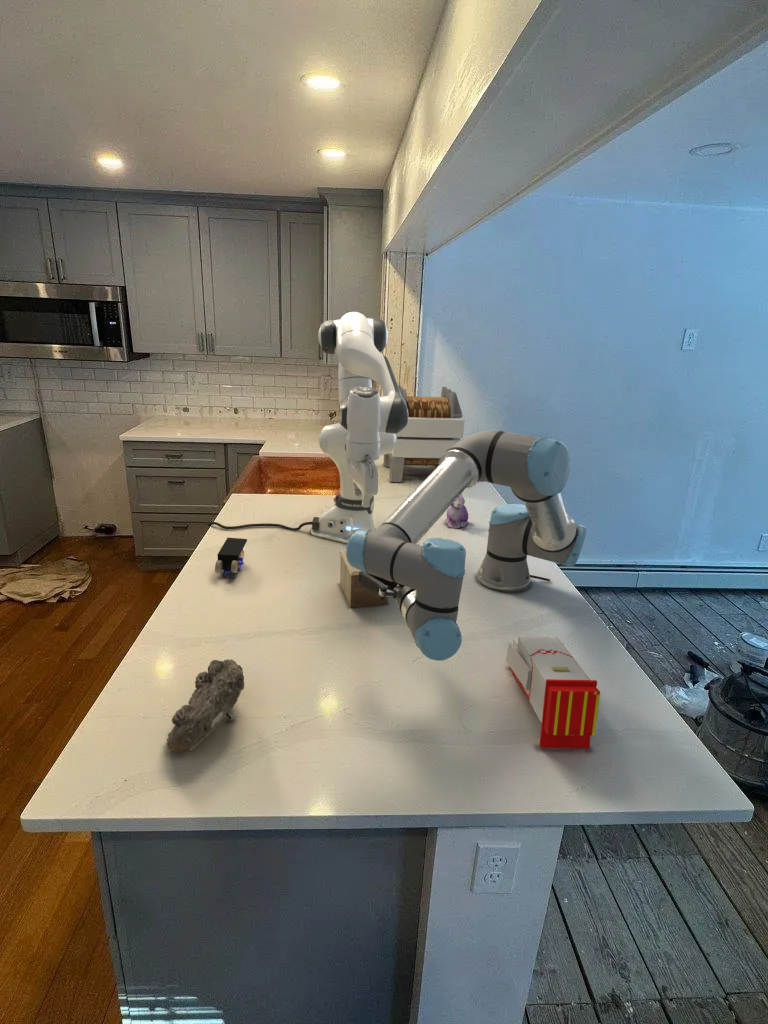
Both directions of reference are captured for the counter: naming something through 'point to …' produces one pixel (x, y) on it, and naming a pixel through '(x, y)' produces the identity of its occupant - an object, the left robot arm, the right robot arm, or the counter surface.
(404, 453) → the grey boxy piece
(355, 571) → the lid
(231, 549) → the figurine character
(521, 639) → the toy
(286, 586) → the counter surface
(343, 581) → the chest
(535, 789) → the counter surface
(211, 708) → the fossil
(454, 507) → the figurine
